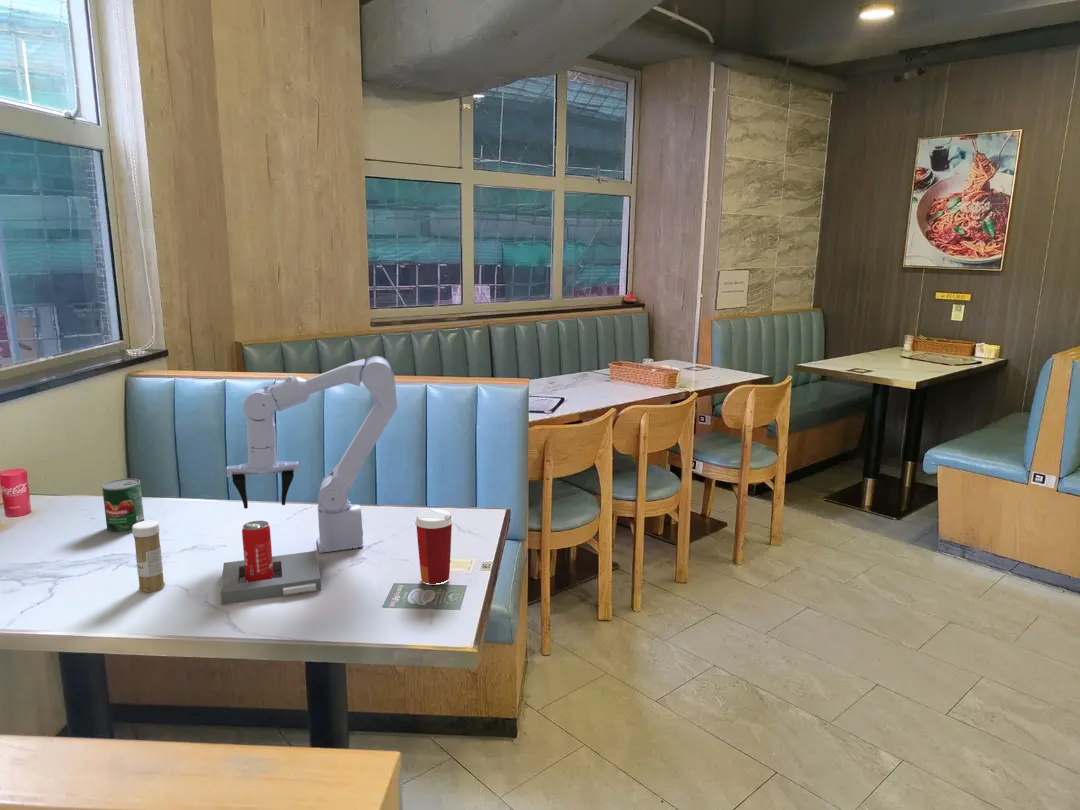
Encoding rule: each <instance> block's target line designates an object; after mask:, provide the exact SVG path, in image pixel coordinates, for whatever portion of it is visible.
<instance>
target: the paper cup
mask: <svg viewBox="0 0 1080 810" xmlns="http://www.w3.org/2000/svg"><path fill="white" fill-rule="evenodd" d="M413 521H414V525H415V526H416V537H417V549H418V558H419V567H420V568H419V569H420V578H421V579H422V580H421V579H420V580H421V582H422V581H423V582H425V583H429V584H436V583H441V582H444V581H446V580H448V579H449V580H450V574H451V572H450V569H451V568H450V567H451V554H452V553H451V550H452V548H451V547H452V530H453V529H452V526H453V523H454V518H453V517H452V514H451V512H449V511H447V510H445V509H439V508H438V509H437V508H434V509H426V510H422V511H420V512H418V514H417V515H416V517H415V519H414V520H413Z"/></svg>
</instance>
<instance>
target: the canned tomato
mask: <svg viewBox="0 0 1080 810" xmlns="http://www.w3.org/2000/svg"><path fill="white" fill-rule="evenodd" d="M101 489H102V496H103V505H104V514H105V523H106V531H107V532H108V533H109V534H113V535H120V534H122V535H123V534H129V533H133V532H132V526H133V525H134V524H136V523H138V522H141V521H145V515H144V506H143V496H142V487H141V480H140V479H137V478H119V479H115V480H110V481H107V482H105V483H103V484H102V485H101Z"/></svg>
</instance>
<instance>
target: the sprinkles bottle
mask: <svg viewBox="0 0 1080 810" xmlns="http://www.w3.org/2000/svg"><path fill="white" fill-rule="evenodd" d="M131 533H132V536H133V538H134V546H135V558H136V559H135V560H136V570H137V575H138V576H137V577H138V583H139V584H138V585H139V586H138V590H139V591H140V592H142V593H153V592H157V591H159V590H161V589H163V588H164V587H165V585H166V584H165V582H164V567H163V559H162V558H163V557H162V547H161V543H160V542H161V541H160V523H159V522H158V521H157V520H153V519H152V520H151V519H149V520H148V519H147V520H144V521H141V522H138V523H136V524H134V525H133V526H132V532H131Z"/></svg>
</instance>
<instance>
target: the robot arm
mask: <svg viewBox="0 0 1080 810" xmlns="http://www.w3.org/2000/svg"><path fill="white" fill-rule="evenodd" d="M361 382H362V383H363V385H364V387H365V388H366V389H367V391H368V392H369V393H370V395H371V399H372V401H373V405H372V407H371V409H370V410H369V411H368V414H367V415H366V417H365V419H364V420H363V421H362V424H361V425H360V427H359V429H358V430H357V432H356V433H355V435H354V437H353V439H352V441H350V443H349V445H348V447H347V448H346V450H345V452H344V453H343V455H342V457H341V458H340V460H339V462H338V463H336V465H335V467H334V468H333V470H332V471H331V472H330V473H328V474H326V475H325V476H324V477H323V478H322V479H321V481H320V489H319V492H318V495H317V502H318V505H317V515H318V519H317V520H318V533H319V534H318V535H319V536H318V537H317V538H316V541H317V546H318V553H328V552H329V553H330V552H337V551H344V550H352V548H353V549H359V548H358V547H361V548H364V540H363V539H364V538H363V537H364V531H363V517H362V516H363V515H362V510H361V509H362V508H361V505H360V504H352V502H351V501H350V499H349V497H348V496H349V493H350V490H351V489H352V486H353V484H354V481H355V479H356V478H357V475H358V473H359V472H360V470H361V468H362V467H363V465H364V463H365V461H366V460H367V459H368V457H369V456H370V453H371V452H372V450H373V449H374V447H375V446H376V444H377V442H378V440H379V439H380V438H381V435H382V433H383V432H384V430H385V429H386V427H387V425H388V423H390V421H391V419H392V417H393V415H395V412H396V410H397V407H398V400H397V388H396V386H397V385H396V379H395V374H394V371H393V369H392V367H391V364H390V362H389V361H388V360H387V359H386V358H384V357H383V356H380V355H379V356H378V355H374V356H371V357H368V358H366V359H365V358H363V359H358V360H354V361H352V362H348V363H346V364H343V365H340V366H338V367H336V368H332V369H331V370H328V371H326V372H321V374H318V375H316V376H313V377H310V378H307V379H306V378H301V377H300V376H295V377H293V376H292V375H289V376H287V377H285V380H284V381H281V382H279V383H276V384H273V385H269V384H266V385H264V386H263V388H258V389H255V390H252V392H250V393H249V395H248V396H247V397H246V399H245V400H244V403H243V411H244V413H245V415H246V423H247V425H246V436H247V438H246V439H247V441H246V442H247V453H248V454H247V455H248V456H247V457H248V458H247V459H248V460H247V461H248V462H247V463H242V464H236V465H227V466H226V468H225V469H226V478H232V483H233V485H234V486H235V488H236V490H237V492H238V493H239V496H240V497H241V501H242V504H243V509H248V507H249V505H248V504H249V503H248V493H247V483H246V482H247V481H246V476H248V475H249V476H250V475H265V474H266V475H268V474H279V473H280V474H281V475H280V476H281V506H286V501H287V500H286V499H287V495H288V491H289V489H290V486H291V484H292V482H293V480H294V476H295V475H294V473H299V471H300V470H299V467H300V466H299V461H282V460H281V461H278V459H277V458H278V457H277V441H276V439H277V436H276V435H277V434H276V432H277V431H276V423H275V412H281V411H285V410H287V409H290V408H293V407H297V406H298V405H301V404H305V403H307V402H308V401H309V399H310V397H311V395H312V394H315V393H318V392H321V391H324V390H327V389H331V388H335V387H337V386H340V385H344V384H349V385H350V384H351V385H352V386H353V385H354V386H357V387H360V386H361Z"/></svg>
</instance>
